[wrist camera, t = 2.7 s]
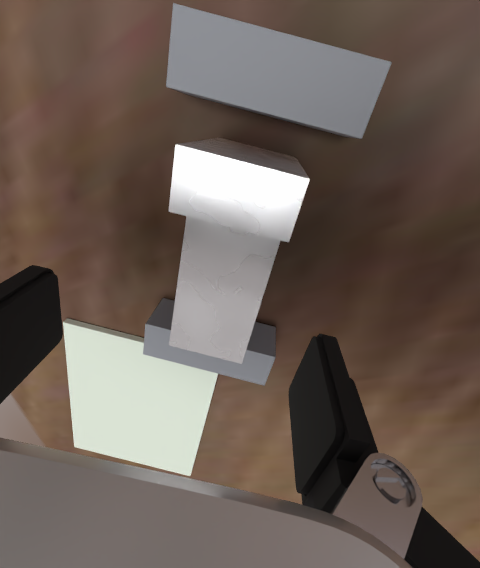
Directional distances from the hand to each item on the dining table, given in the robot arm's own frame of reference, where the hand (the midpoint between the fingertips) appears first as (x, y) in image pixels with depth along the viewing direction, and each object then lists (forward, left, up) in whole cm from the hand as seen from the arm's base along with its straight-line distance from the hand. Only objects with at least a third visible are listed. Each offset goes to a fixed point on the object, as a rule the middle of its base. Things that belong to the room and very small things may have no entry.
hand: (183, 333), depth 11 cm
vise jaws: (-1, -2, -8) cm, 8 cm away
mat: (+4, +16, -8) cm, 19 cm away
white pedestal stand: (-1, -1, -8) cm, 8 cm away
